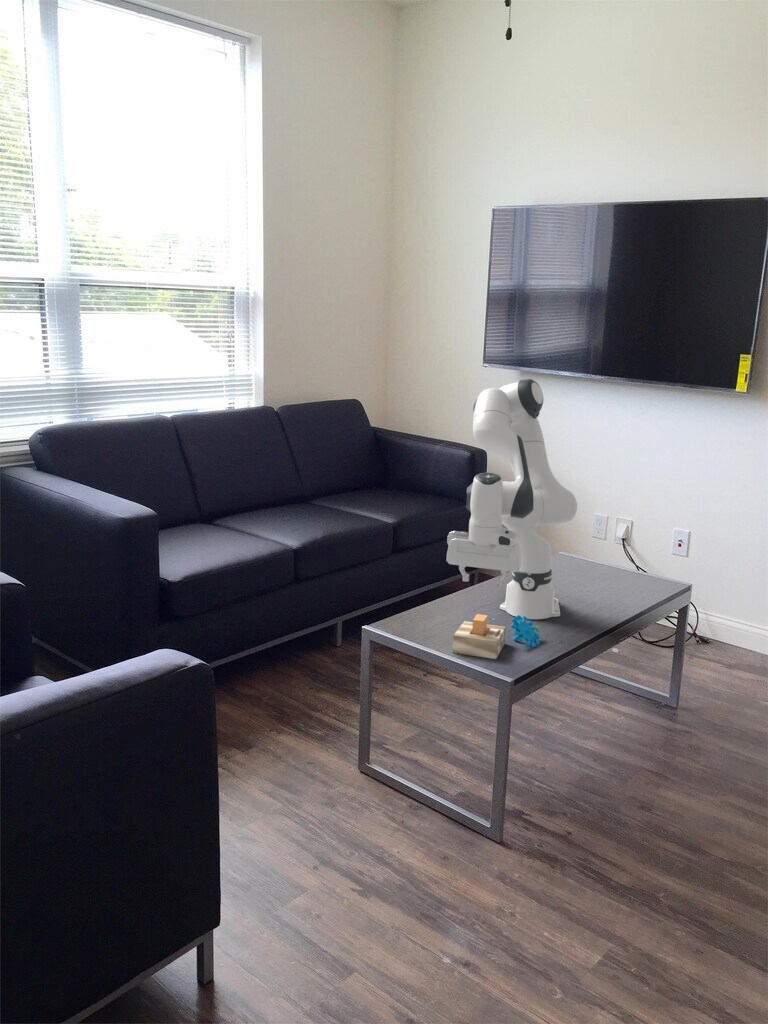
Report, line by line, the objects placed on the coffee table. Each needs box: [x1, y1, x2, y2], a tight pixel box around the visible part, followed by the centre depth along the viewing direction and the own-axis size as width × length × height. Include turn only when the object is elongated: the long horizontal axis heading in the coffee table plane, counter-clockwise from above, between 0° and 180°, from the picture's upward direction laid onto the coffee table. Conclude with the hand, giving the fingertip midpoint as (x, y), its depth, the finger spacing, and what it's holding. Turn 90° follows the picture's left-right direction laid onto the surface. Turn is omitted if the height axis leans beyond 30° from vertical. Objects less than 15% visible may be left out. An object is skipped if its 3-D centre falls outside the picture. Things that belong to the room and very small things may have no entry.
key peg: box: [472, 613, 489, 636], centre depth 239 cm, size 3×5×9 cm, turn 161°
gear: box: [510, 615, 541, 648], centre depth 245 cm, size 11×6×10 cm
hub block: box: [452, 620, 507, 660], centre depth 239 cm, size 12×12×5 cm
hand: (482, 583), depth 236 cm, fingers open, 8 cm apart
